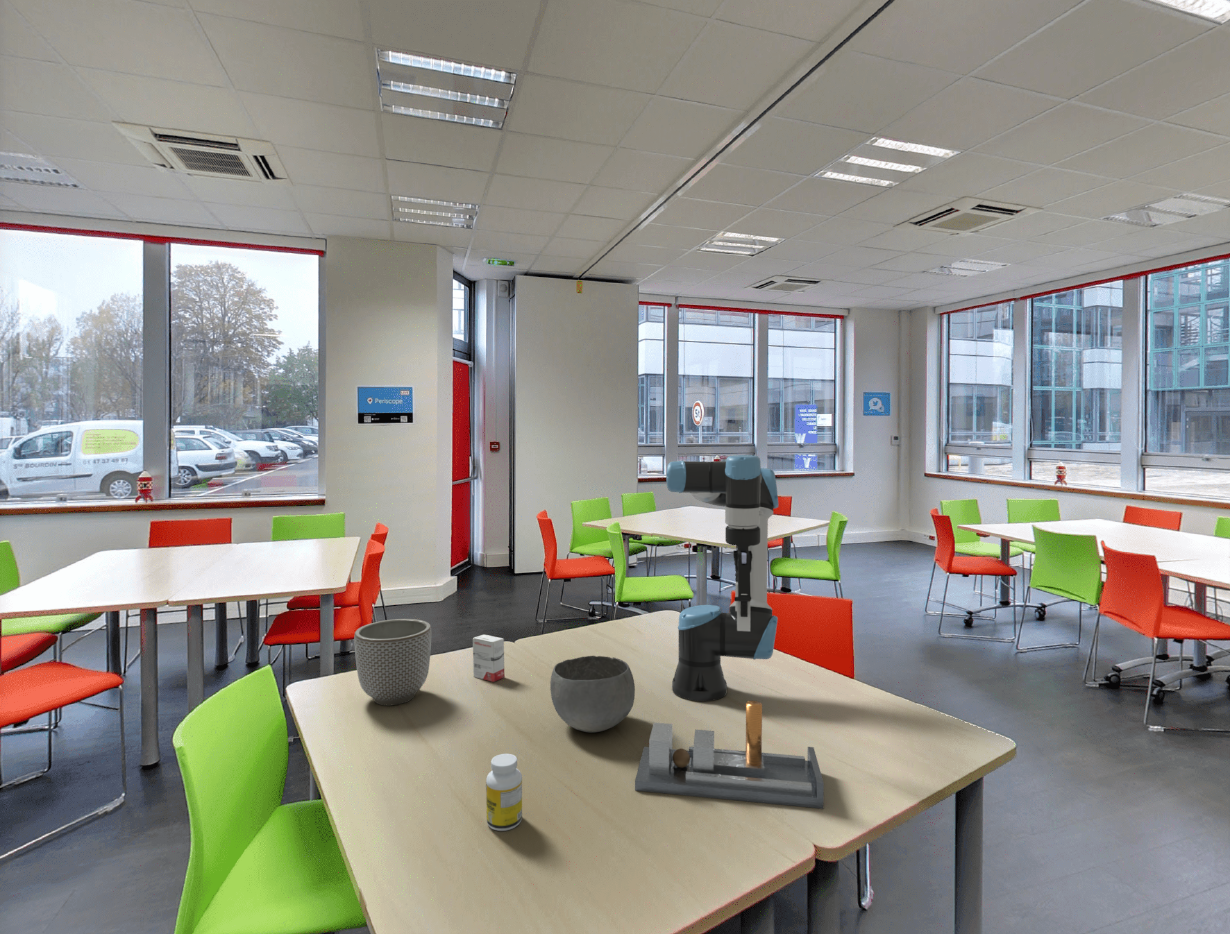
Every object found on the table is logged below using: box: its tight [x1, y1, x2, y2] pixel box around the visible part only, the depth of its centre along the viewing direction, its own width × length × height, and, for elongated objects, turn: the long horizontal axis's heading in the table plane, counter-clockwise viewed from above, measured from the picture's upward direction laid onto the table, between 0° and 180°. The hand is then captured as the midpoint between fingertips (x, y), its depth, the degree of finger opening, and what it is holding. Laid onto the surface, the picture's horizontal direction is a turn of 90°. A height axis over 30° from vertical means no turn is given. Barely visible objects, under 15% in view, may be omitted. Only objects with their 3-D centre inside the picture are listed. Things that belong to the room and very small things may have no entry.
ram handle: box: [692, 700, 764, 779], centre depth 128 cm, size 14×8×14 cm, turn 80°
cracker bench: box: [634, 722, 825, 810], centre depth 128 cm, size 36×14×9 cm, turn 80°
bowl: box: [549, 655, 636, 734], centre depth 152 cm, size 20×20×15 cm
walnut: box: [673, 748, 690, 768], centre depth 129 cm, size 4×4×4 cm
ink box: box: [472, 634, 505, 683], centre depth 184 cm, size 9×5×12 cm, turn 58°
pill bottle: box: [485, 753, 523, 832], centre depth 114 cm, size 6×6×12 cm
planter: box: [353, 618, 432, 706], centre depth 169 cm, size 20×20×19 cm
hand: (742, 620), depth 139 cm, fingers open, 13 cm apart
